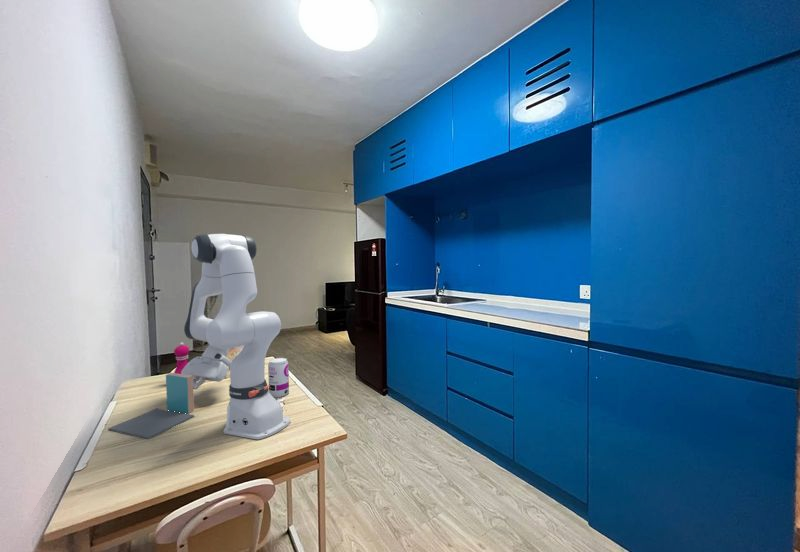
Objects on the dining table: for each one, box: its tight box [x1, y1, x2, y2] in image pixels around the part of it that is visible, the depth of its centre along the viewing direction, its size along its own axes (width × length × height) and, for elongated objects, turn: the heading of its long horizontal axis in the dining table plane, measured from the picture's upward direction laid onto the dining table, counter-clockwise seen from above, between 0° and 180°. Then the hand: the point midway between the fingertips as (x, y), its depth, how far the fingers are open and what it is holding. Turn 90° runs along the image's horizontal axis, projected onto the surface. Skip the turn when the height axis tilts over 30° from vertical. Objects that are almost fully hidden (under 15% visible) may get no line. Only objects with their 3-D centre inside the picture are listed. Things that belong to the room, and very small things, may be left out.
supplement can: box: [267, 357, 290, 398], centre depth 139 cm, size 8×8×15 cm
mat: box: [108, 407, 195, 440], centre depth 115 cm, size 16×20×1 cm
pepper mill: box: [173, 341, 190, 374], centre depth 153 cm, size 7×7×20 cm
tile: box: [165, 372, 195, 414], centre depth 125 cm, size 2×11×14 cm, turn 72°
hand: (192, 388), depth 130 cm, fingers closed
